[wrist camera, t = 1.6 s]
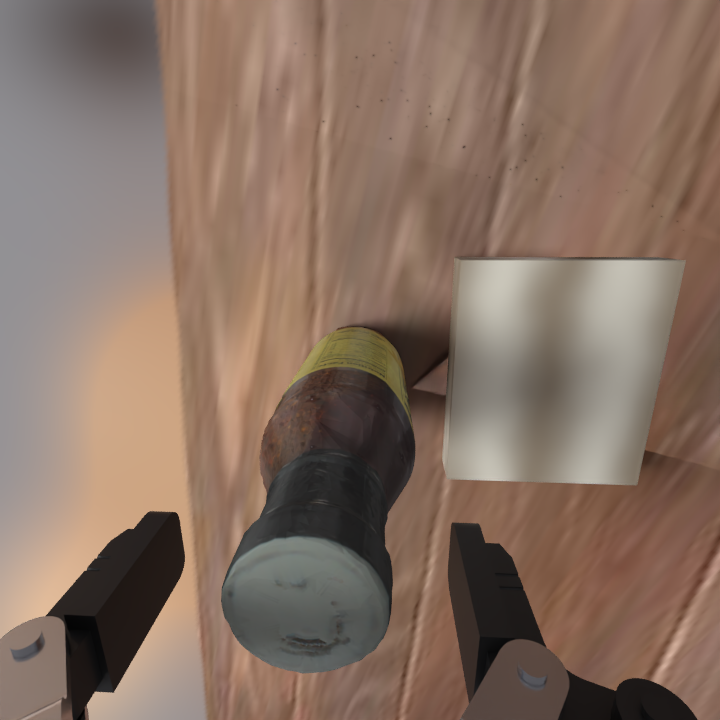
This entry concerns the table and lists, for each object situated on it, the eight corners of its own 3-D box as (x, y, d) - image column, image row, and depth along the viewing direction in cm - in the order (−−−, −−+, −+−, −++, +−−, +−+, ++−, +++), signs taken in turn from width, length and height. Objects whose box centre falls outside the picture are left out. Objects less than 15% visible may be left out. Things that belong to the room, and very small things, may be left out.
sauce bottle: (371, 424, 30) (340, 761, 11) (293, 379, 30) (123, 656, 11) (424, 348, 28) (493, 599, 9) (342, 298, 28) (238, 459, 9)
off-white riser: (653, 256, 26) (685, 260, 23) (613, 460, 30) (636, 485, 27) (453, 256, 27) (460, 260, 24) (441, 455, 31) (446, 479, 28)
